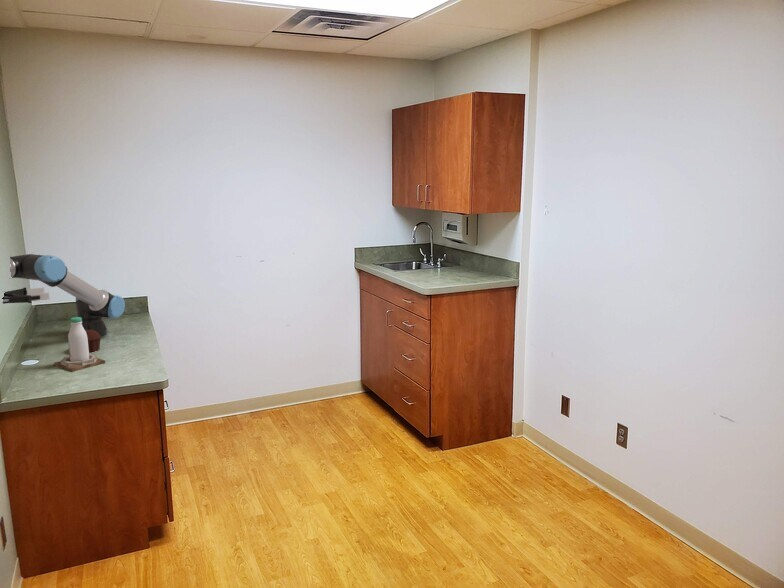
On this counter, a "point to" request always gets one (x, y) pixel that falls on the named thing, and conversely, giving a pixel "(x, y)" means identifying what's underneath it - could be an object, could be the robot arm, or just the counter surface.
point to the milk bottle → (78, 341)
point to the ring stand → (79, 363)
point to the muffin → (93, 340)
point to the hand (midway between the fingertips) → (46, 293)
